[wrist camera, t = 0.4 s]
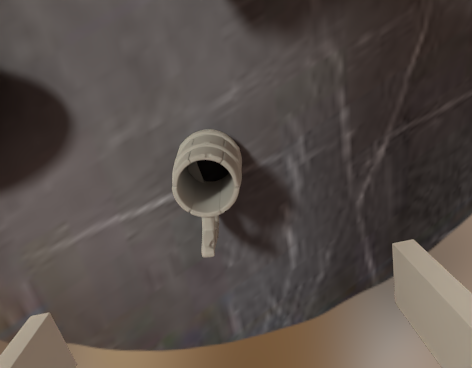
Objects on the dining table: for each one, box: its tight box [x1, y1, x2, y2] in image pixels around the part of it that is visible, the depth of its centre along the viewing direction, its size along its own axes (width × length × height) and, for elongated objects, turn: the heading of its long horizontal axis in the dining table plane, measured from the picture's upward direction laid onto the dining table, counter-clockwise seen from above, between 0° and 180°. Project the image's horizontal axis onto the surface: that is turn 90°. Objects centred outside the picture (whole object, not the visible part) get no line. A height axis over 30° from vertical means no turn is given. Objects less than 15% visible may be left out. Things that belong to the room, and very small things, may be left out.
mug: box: [172, 129, 242, 257], centre depth 34 cm, size 8×12×12 cm, turn 2°
